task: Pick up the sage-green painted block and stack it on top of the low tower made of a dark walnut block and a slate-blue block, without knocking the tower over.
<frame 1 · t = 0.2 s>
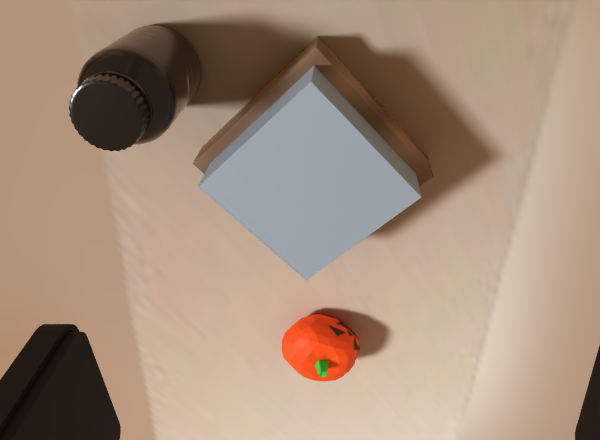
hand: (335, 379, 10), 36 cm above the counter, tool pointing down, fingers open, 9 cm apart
supplement bottle: (162, 65, 44), on the counter
walnut base block: (314, 149, 48), on the counter, touching slate top block
pumpkin: (320, 330, 58), on the counter
slate top block: (311, 168, 44), point 3 cm above the counter, touching walnut base block
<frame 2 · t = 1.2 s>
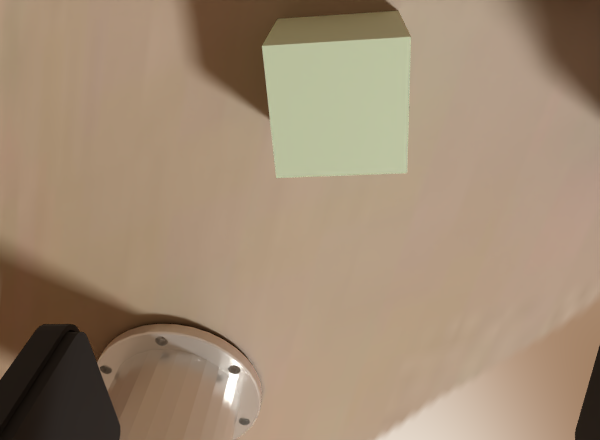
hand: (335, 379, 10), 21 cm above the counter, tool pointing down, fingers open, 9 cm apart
sage block: (339, 74, 28), on the counter
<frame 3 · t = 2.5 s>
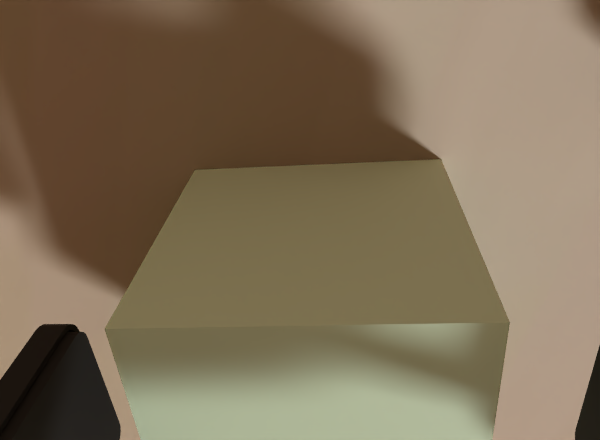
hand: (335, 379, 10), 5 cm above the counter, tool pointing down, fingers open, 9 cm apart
sage block: (322, 264, 15), on the counter
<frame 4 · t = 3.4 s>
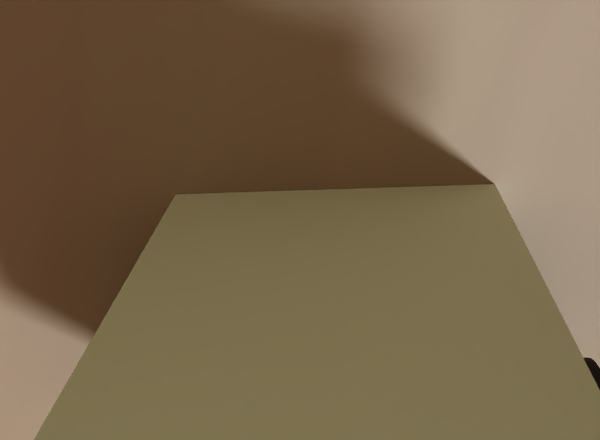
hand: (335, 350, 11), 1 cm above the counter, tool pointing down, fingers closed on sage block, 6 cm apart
sage block: (336, 311, 12), on the counter, touching gripper
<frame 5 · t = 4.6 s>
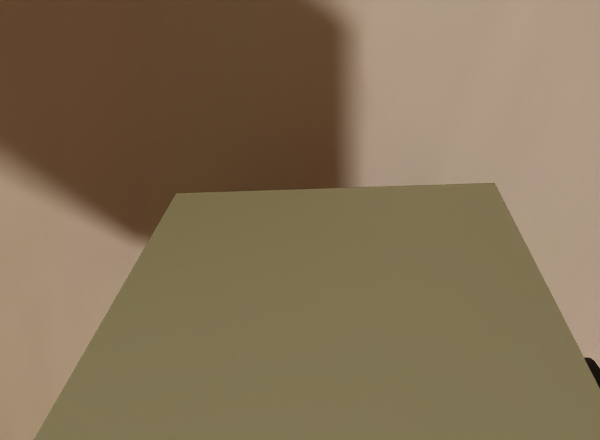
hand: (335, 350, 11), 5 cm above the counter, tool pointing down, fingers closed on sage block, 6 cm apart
sage block: (336, 310, 12), point 4 cm above the counter, touching gripper
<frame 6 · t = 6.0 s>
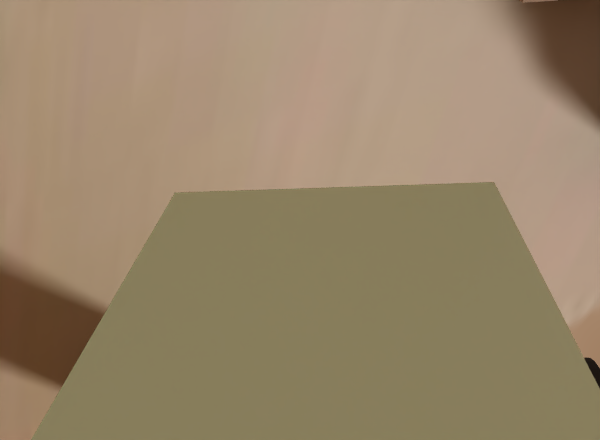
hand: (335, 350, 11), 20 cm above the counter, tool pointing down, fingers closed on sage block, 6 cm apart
sage block: (336, 310, 12), point 18 cm above the counter, touching gripper
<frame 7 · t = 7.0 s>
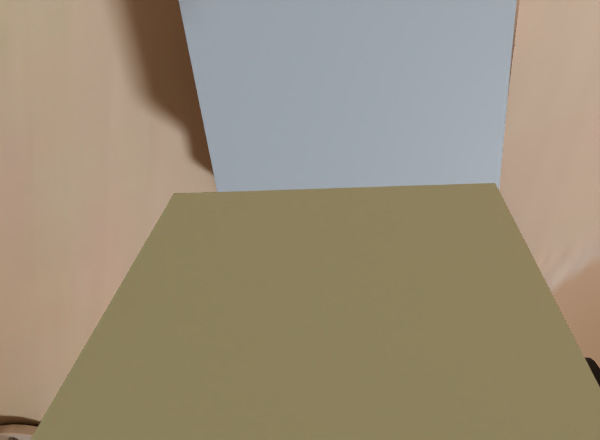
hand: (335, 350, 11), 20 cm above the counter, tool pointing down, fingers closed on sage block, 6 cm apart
sage block: (336, 311, 12), point 19 cm above the counter, touching gripper
slate top block: (349, 83, 25), point 3 cm above the counter, touching walnut base block
when the fingers open (10 cm above the counter, at t = 10.9 s): sage block drops 1 cm, point 7 cm above the counter.
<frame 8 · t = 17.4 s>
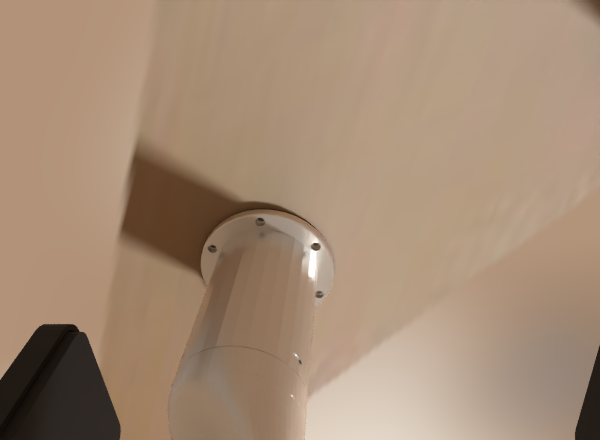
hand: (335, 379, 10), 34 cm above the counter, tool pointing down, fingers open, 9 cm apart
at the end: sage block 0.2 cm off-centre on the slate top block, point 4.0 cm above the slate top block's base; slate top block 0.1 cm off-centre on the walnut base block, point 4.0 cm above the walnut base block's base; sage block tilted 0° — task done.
